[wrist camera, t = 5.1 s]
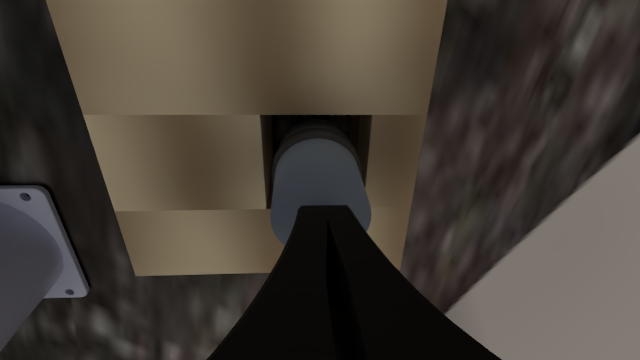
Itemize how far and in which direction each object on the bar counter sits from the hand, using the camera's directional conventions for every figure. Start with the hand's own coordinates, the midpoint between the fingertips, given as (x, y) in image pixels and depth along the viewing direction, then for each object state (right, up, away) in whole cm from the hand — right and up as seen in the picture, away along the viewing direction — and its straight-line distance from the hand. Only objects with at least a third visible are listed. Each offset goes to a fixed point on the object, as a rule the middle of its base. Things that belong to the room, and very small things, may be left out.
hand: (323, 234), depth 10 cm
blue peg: (0, +3, +5) cm, 5 cm away
